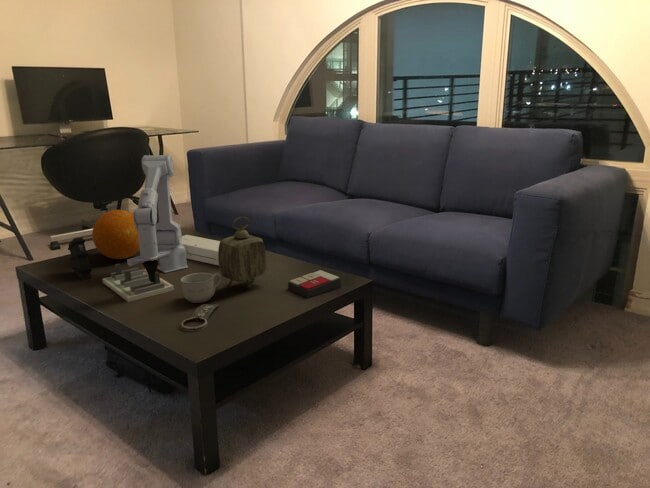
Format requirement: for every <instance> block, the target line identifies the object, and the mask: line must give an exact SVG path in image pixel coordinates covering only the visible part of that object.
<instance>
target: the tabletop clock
mask: <svg viewBox="0 0 650 488" xmlns="http://www.w3.org/2000/svg"><path fill="white" fill-rule="evenodd" d="M244 219H245V220H247V224H246V225H244V226H243V224H240V225H239V227H235V226H234V225H235V223H236V222H237V221H238V220H244ZM231 225H232V228H233V229H234V230H236V231H235V232H234V235H230V236H228V237H226V238H225V237H224V238H223V239H222V240H219V241H220V244H219V249H218V261H219V267H218V268H219V272H220V274H221V276H222V278H223V277H224V278H225V279H228V280H229V282H228V283H227V284H225V288H226V289H227V290H229V289H231V284H232V283H233V282H237V283H238V282H239V283H241V282H245V281H246V288H247V289H251V287H252V284H250V281H251V282H254V281H255V280H256V279H255V278H258V277H260V276H262V275H263V274H264V273H266V268H267V254H266V253H267V252H266V245H265V243H264V241H263V238H261V237H259V236H254V235H251V234H249V232H248V231H247V230H246V228H247V227H248V226H249V225H250V219H249V218H248V217H247V216H239V217H236V218H235V219H234V220H233V222H232V224H231Z"/></svg>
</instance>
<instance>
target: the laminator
mask: <svg viewBox="0 0 650 488" xmlns="http://www.w3.org/2000/svg"><path fill="white" fill-rule="evenodd" d="M220 241H221V240H215V239H210V238H205V237H202V236H201V237H200V236H195V235H190V234H185V235H182V242H181V244H182V245H183V246H184V248H185V251H186V259H188V260H193V261H196V262H197V261H198V262H201V263H207V264H210V265H213V266H214V265H215V266H219V261H218V249H219V244H220Z"/></svg>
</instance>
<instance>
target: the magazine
mask: <svg viewBox="0 0 650 488" xmlns="http://www.w3.org/2000/svg"><path fill="white" fill-rule="evenodd" d="M85 242H86V240H85V239H84V238H83V236H81V237H75V238H73V239H72V240H71V241H70V243H68V245H67V246H68V248H67V250H68V251H69V252H70V260H71V261H72V267H71V269H72V270H73V273H74V274H75V275H77V276H78V277H79V278H80V279H82V280H83V281H85V280H90V279H91V278H92V268H90V263H89V256H90V255H89V253H88V252H87V250H86V245H85Z"/></svg>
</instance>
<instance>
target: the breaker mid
mask: <svg viewBox="0 0 650 488" xmlns="http://www.w3.org/2000/svg"><path fill="white" fill-rule="evenodd" d="M124 270H125V271H124V275H125V282H128V281H132V280H131V272H130V270H127V269H124Z"/></svg>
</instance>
